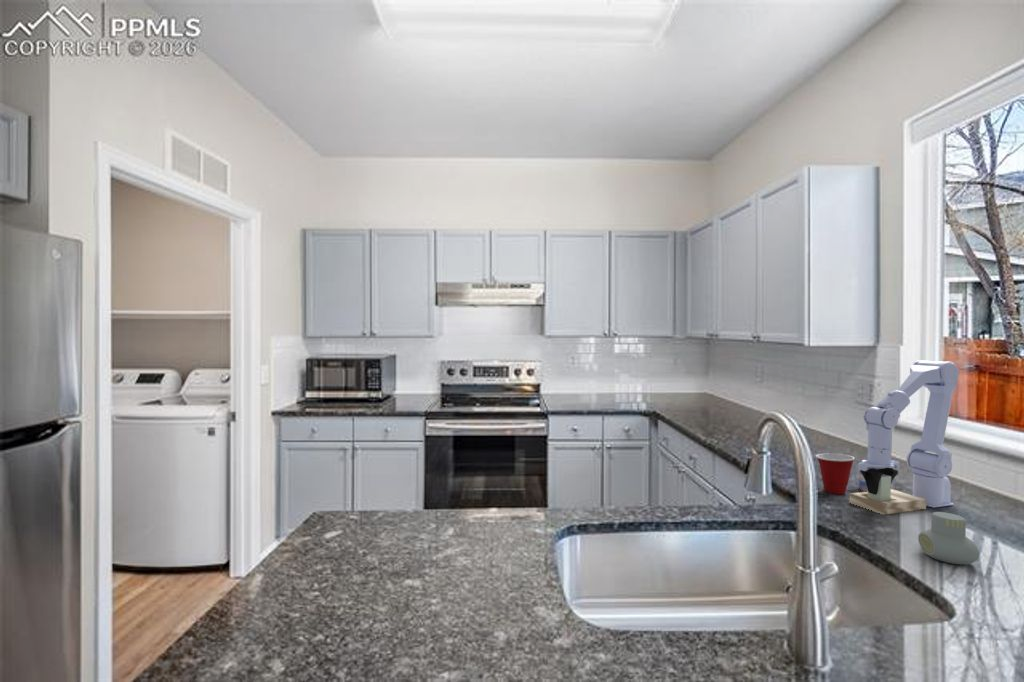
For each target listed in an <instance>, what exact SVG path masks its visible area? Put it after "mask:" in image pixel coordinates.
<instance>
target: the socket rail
mask: <svg viewBox="0 0 1024 682" xmlns="http://www.w3.org/2000/svg"><path fill="white" fill-rule="evenodd" d="M848 500H849V502H848V503H849V504H850V503H851V505H853V504H854V506H856V505H857V506H856V507H859V506H860V507H859V508H862V507H863V508H862V509H865V508H866V509H865V510H868V509H869V510H868V511H871V510H872V512H874V513H876V514H877V513H878V514H879V513H880V515H890V514H899V513H907V511H908V512H913V510H916V511H921V510H920V509H924V510H927V506H926V499H924V498H921V497H917V496H914V495H913V494H910V493H906V492H903V491H900V490H896V489H894V488H893V489H892V488H891V498H890V501H884V502H880V501H877V500H874V499H871V498H868V497H867V492H865V491H861V492H852V493H851V492H850V493H849V499H848Z"/></svg>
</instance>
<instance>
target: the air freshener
mask: <svg viewBox="0 0 1024 682" xmlns="http://www.w3.org/2000/svg"><path fill="white" fill-rule="evenodd" d="M930 524H931V526H930V527H931V528H930V529H925V530H923V531H921V532H920V533H919V534H918V537H917V538H918V539H917V540H918V544H919V546H920V548H921V550H922V551H923V552H924V553H925V554H926V555H928V556H929V557H930V558H931V559H933V558H934V559H933V560H936V561H939V562H942V561H943V562H944V563H946V564H952V565H959V564H960V565H961V566H962V565H969V564H973V563H975V562H977V561H978V560H979V559H980V550H979V548H978V547H977V544H976V543H975V542H974V541H973V540H972V539H970V538H969V537H967V536H966V535H967V534H966V530H967V529H966V528H967V527H966V526H967V520H966V518H964V517H962V516H960V515H958V514H953V513H950V512H946V511H945V512H944V511H934V512H933V513H931V523H930ZM943 562H942V563H943Z"/></svg>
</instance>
